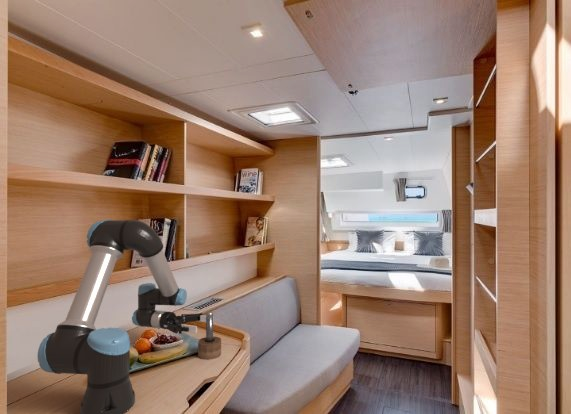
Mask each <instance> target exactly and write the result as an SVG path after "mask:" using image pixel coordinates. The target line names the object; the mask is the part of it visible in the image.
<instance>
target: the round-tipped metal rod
mask: <svg viewBox="0 0 571 414" xmlns="http://www.w3.org/2000/svg"><path fill="white" fill-rule="evenodd" d="M205 316H206V322H205V337H206V342H207V343H210V342H213V336H214V322H213V316H214V313H213V312H212V311H209V310H208V311H207V312H206V314H205Z"/></svg>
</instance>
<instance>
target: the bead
mask: <svg viewBox="0 0 571 414" xmlns="http://www.w3.org/2000/svg"><path fill="white" fill-rule="evenodd" d="M197 342H198V343H197V358H199V359H201V360H205V361H206V360H214V359H217V358H219V357H220V356H221V355H222V338H221V337H218V336H214V335H213V342H210V343H207V342H206V336H205V337H202V338H200V339H199V340H198V341H197Z"/></svg>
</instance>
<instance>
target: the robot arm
mask: <svg viewBox="0 0 571 414" xmlns="http://www.w3.org/2000/svg"><path fill="white" fill-rule="evenodd" d="M86 233H87V234H86V239H87V240H86V243H87V246H88V247H89V248H88V250H89V251H88V252H89V253H90V254H91V255H90V258H89V260H88V263H87V265H86V268H85V270H84V273H83V275H82V276H81V277H82V278H81V280H80V283H79V285H78V288H77V290H76V292H75V295H74V297H73V300H72V302H71V304H70V306H69V310H68V312H67V315H66V318H65V320H64V321H62V322H61V323H58V324H57V326H56V329H55V331H54V332H52V333H49V334H47V335H46V337H44V338H43V339H42V340H41V342H40V344H39V347H38V350H37V362H38V365H39V367H40V368H41V370H43V371H44V372H46V373H50V374H51V373H53V374H57V375H60V374H67V375H68V374H71V375H87V378H86V379H87V381H86V383H87V384H86V388H85V389H86V390H85V393H84V395H83V399H82V401H81V404H80V407H79V414H123V413H124V412H125V413H127V412H128V411H129V409H130V408H131V407H132V408H133V407H134V406H135V403H136V392H135V390H134V388H133V384H132V381H131V379H130V357H131V356H130V354H131V353H130V349H131V342H130V335H129V333H128V332H127V330H125V329H122V328H117V327H106V328H105V327H103V328H102V327H101V328H98V329H97V328H96V326H95V322H96V319H97V317H98V314H99V310H100V309H101V305H102V303H103V299H104V297H105V293H106V292H107V288H108V285H109V282H110V280H111V279H110V278H111V277H112V273H113V271H114V268H115V266H116V262H117V261H118V260H120V259H122V258H123V256H124V254H125V253H124V252H125V251H135V252H137V253H138V255H139V256H140V258H143V259H144V260H145V262H146V265H147V267H148V269H149V271H150V273H151V275H152V277H153V279H154V281H155V283H152V282H150V283H149V282H148V283H142V284H140V285H139V286H138V289H137V309H136V310H134V311H133V313H132V316H131V321H132V324H133V325H135V326H138V327H143V328H144V327H145V328H146V327H147V328H154V329H157V330H160V329H163V330H168V331H170V332H172V333H174V334H178V335H179V334H183V333H191V334H192V333H193V334H197V333H198V326H197V325H193V324H192V325H190V324H189V325H188V324H187V323H191V322H202V323H206V315H203V313H202V312H200V313H181V314H180V315H176V313H175V312H173V311H165V310H156V306H171V307H172V306H175V307H176V306H183V305H185V303H186V301H187V297H188V293H187V292H188V291H187V290H186V289H185V288H179V286H178V283H177V281H176V279H175V276H174V274H173V272H172V269H171V267H170V264H169V262H168V260H167V257H166V254H165V253H164V243H163V241H162V238H160V235H158V233H157V232H156V231H155V230H154V229H153V228H152V227H151V226H150V225H149V224H148V223H146V222H144V221H141V220H138V219H128V220H127V219H120V220H119V219H115V220H113V219H103V220H99V221H96V222H94V223H93V224H92V225H91V226H90V228H89V229H88V231H87V232H86ZM156 285H157V286H156ZM214 319H215V317H214V315H213V323H214V321H215V320H214ZM132 408H131V409H132ZM131 409H130V410H131ZM127 410H128V411H127ZM126 411H127V412H126ZM125 413H124V414H125Z"/></svg>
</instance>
